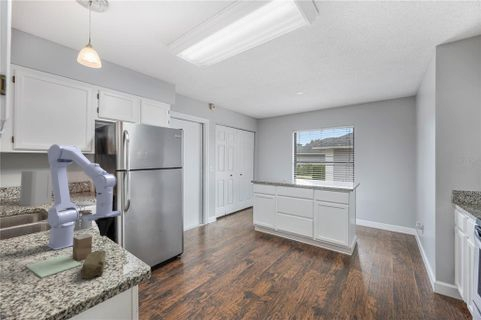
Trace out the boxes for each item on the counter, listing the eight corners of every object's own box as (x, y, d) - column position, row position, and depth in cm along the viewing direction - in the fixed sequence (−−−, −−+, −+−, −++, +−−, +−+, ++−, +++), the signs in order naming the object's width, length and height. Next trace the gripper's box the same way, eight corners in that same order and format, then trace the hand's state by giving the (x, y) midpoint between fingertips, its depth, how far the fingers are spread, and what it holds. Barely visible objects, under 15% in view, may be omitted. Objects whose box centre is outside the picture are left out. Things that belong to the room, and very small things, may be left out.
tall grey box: (15, 207, 168) (17, 171, 169) (21, 204, 180) (22, 170, 181) (48, 205, 179) (50, 171, 179) (51, 202, 191) (52, 170, 192)
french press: (76, 233, 112) (79, 184, 113) (67, 229, 118) (69, 183, 119) (97, 228, 120) (99, 183, 121) (87, 225, 126) (89, 182, 127)
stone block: (105, 262, 80) (106, 249, 80) (103, 277, 70) (103, 261, 70) (86, 265, 78) (87, 251, 78) (81, 281, 68) (81, 265, 68)
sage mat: (26, 266, 75) (26, 265, 75) (64, 255, 85) (64, 254, 85) (41, 278, 68) (41, 277, 68) (81, 265, 77) (81, 264, 77)
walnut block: (72, 258, 83) (73, 236, 83) (85, 254, 87) (86, 233, 87) (77, 261, 81) (78, 238, 81) (91, 257, 84) (92, 235, 85)
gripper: (90, 206, 82) (88, 242, 82) (126, 201, 95) (125, 233, 94) (81, 204, 86) (79, 239, 86) (117, 200, 98) (116, 230, 98)
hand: (103, 235), depth 90 cm, fingers closed
